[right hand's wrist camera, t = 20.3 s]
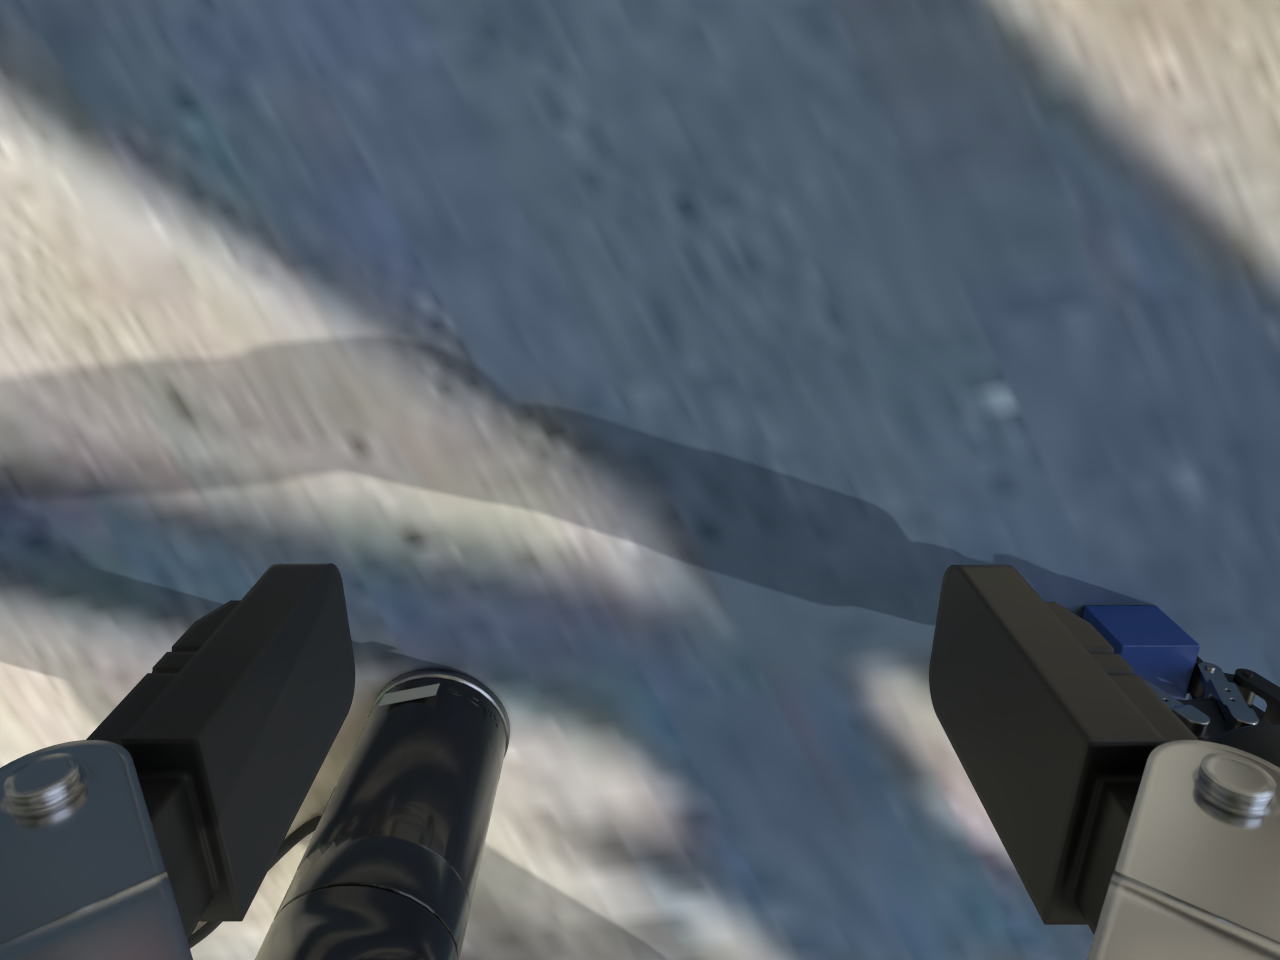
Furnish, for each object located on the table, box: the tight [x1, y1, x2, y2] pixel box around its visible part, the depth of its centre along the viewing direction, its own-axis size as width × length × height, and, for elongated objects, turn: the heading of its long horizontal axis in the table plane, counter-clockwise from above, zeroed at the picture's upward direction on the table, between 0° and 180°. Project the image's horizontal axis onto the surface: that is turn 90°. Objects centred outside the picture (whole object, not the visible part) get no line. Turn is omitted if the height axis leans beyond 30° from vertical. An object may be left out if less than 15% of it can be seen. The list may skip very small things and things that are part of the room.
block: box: [1082, 606, 1200, 700], centre depth 52 cm, size 5×5×5 cm
